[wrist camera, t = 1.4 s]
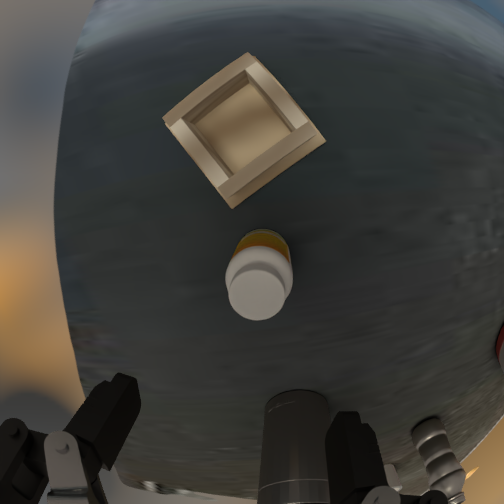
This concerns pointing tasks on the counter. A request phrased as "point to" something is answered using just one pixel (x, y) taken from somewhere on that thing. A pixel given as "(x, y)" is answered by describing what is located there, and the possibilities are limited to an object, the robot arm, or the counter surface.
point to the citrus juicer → (500, 348)
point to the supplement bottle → (259, 275)
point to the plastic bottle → (439, 460)
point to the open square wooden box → (242, 129)
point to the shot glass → (392, 477)
